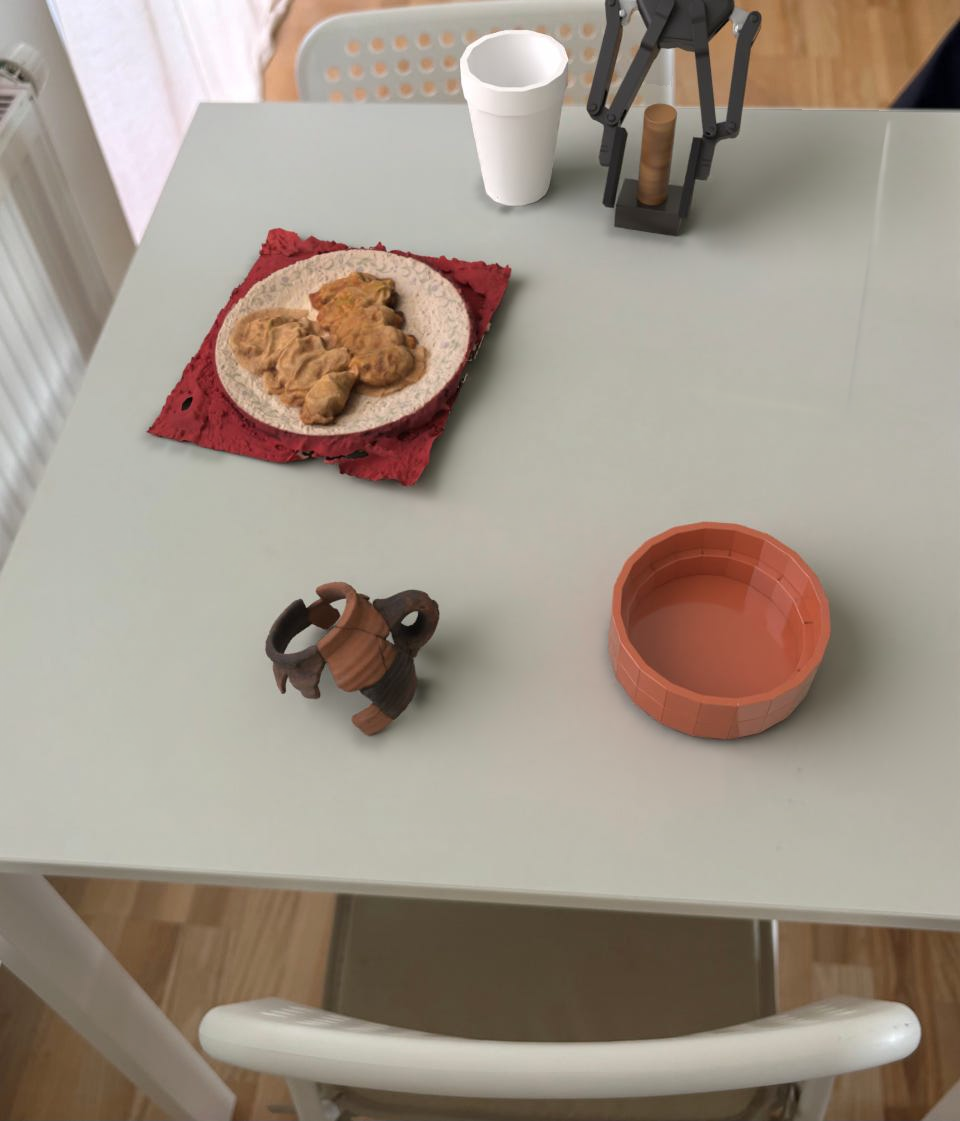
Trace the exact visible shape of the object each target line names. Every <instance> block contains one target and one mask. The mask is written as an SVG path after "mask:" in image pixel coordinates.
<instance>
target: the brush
mask: <svg viewBox="0 0 960 1121" xmlns="http://www.w3.org/2000/svg"><path fill="white" fill-rule="evenodd" d="M677 119H678V112H677V110H676V108H675V107H673V106H672V105H670V104H667V103H653V104H651V105H648V106H647V107H646V108H645V109H644V112H643V120H642V133H641V142H640V144H641V145H640V155H639V165H638V166H639V167H638V179H635V178H627V177H625V178H624V179H623V182H622V185H621V188H620V190H619V193H618V197H617V200H616V202H615V207H614V222H613V227H615V228H621V229H627V230H628V229H629V230H633V231H634V230H635V231H641V232H648V233H654V234H661V235H667V236H672V237H673V236H674V237H678V236H679V234H680V230H681V226H682V223H683V220H684V219H683V218H679V216H678V211H679V206H680V201H681V196H682V191H683V186H684V185H677V184H670V181H671V180H670V177H671V172H672V161H673V155H674V154H673V153H674V144H675V135H676V128H677Z"/></svg>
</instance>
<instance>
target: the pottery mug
mask: <svg viewBox="0 0 960 1121" xmlns="http://www.w3.org/2000/svg"><path fill="white" fill-rule="evenodd" d="M315 594H316V595H317V596H318V597H319V599H316V600H315V601H313V602H312V603H310V605H308V606H306V603H305V602H304V600H303V598H298V599H295V600H293V601H292V602H291V603H289V605H288V606H287V607H286V608H284V610H283V611H282V612H281V613H280V614H279V615H278V616H277V618H276V619H275V621H274V622H273V624H272V625H271V627H270V630H269V631H268V632H269V634H268V635H267V637H266V640H265V648H264V651H265V654H266V656H267V658H268V659H270V661H271V662H272V672H273V676H274V680H275V683H276V685H277V688H278V690H279V693H280V694H282V695H285V694H286V692H287V681H288V682H289V683H290V684H291V686H292V687H293V688H294V689H295V690H297V691H298V692H300V694H301V695H302V696H303V698H305V699H309V700H317V699H320V698H321V694H322V692H321V690H320V687H319V684H320V681H321V676H322V673H323V671H324V669H325V666H326V665H327V667H328V670H329V671H330V673H331V675H332V677H333V680H334V682H335V684H336V686H337V688H338V689H340V690H342V691H343V692H346V693H354V692H357V691H359V693H360V694H361V695H363V696H364V697H366V698H367V699H368V700H369V701H371V702H372V703H371V704H370V705H368V706H367V707H366V708H364V709H363V710H361V711H359V712H358V713H356V714H354V715H352V716H351V723H352V725H353V726H355V727H356V728H358V729H359V730H360V731H361V732H362V733H363V734H364V735H365V736H371V735H374V734H376V733H378V732H380V731H381V730H383V729H385V728H386V727H388V726H389V725H390V724H392V722H393V721H394V720H397V718H398V717H399V716H400V715H401V714H402V713H404V712H405V711H406V709H407V708H408V706H409V704H410V703H411V702H412V700H413V698H414V697H415V694H416V692H417V691H416V689H417V686H418V676H417V673H416V666H415V663H414V662H415V659H414V658H417V657H418V654H419V652H420V650H421V649H422V648H423V647H424V646H426V644H427V643H428V642H429V641H430V640H431V638H433V636H434V634H435V633H436V630H437V627H438V625H439V620H440V614H441V613H440V609H439V604H438V602H437V601H436V600H435V599H432V598H431V597H430V596H429V594H428V593H427V592H426V591H424V590H423V591H422V590H418V589H407V590H403V591H400V592H397V593H395V594H393V595H391V596H389V597H386V598H385V597H384V598H375V599H373V600H372V602H371V601H370V599H371V597H370V596H369V595H366V594H364V593H359V592H357V590H356V589H355V588H354V587H353V586H352V584H349V583H347V582H344V581H332V582H327V583H324V584H320V585H319V586H316V588H315ZM341 600H345V606H344V609H343V612H342V614H341V613H340V611H339V609H337V608H335V607H334V606H333V605H332V603H334V602H338V601H341ZM416 612H417V616H416V619H415V621H414V622H412V624H410V625H406V624H404V623H403V621H404V619H406V618H407V617H408V616H409V615H410V614H413V613H416ZM311 625H314V626H315V627H316V628H320V629H322V630H325V631H326V630H329V629H330V628H331V629H330V631H329V632H327V633H326V634H325V635H324V636H322V637H321V639H320V640H318V641H317V642H316V643H315V644H312V645H311V646H308V647H306V648H305V649H302V650H300V651H297V652H293V653H285V652H286V650H287V649H288V647H289V645H290V643H291V641H292V640H293V639H294V638H295V637H296V636H298V635H299V634H300V633H302V632H304V631H305V630H306V629H308V628H309V627H310V626H311ZM334 625H335V626H334ZM333 626H334V627H333ZM390 635H391V639H392V642H391V641H389V640H387V638H388V637H389V636H390Z"/></svg>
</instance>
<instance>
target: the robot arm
mask: <svg viewBox="0 0 960 1121" xmlns="http://www.w3.org/2000/svg"><path fill="white" fill-rule="evenodd" d="M735 4H736V3H735V0H604V9H605V20H606V21H605V22H606V25H605V28H604V33H603V36H602V41H601V45H600V49H599V54H598V58H597V61H596V66H595V69H594V74H593V77H592V82H591V87H590V89H589V90H590V91H589V94H588V99H587V103H586V113H587V114H588V115H589V117H590V119H592V120H593V121H596V122H598V123H600V124H601V125H603V131H602V136H601V142H600V146H599V147H600V148H599V153H598V160H599V161H598V162H599V165H600V166H601V167H605V168H608V170H607V175H606V181H605V186H604V192H603V197H602V202H601V203H602V205H604V207H605V208H610V209H615V207H616V201H617V200H616V199H617V195H618V188H619V183H620V178H621V174H622V169H623V168H622V167H623V163H624V162H623V161H624V157H625V150H626V146H627V140H628V136H629V132H627V129H626V127H624V126H622V125H623V123H624V121H625V119H626V117H627V115H628V113H629V111H630V110H631V107H632V105H633V103H634V101H635V99H636V97H637V95H638V93H639V91H640V89H641V88H642V85H643V83H644V81H645V79H646V77H647V75H648V73H649V72H650V69H651V68H652V66H653V64H654V62H655V61H656V59H657V58H658V56H659V55H660V53H661V50H662V49H664V50H670V49H680V50H683V51H685V52H689V53H690V52H691V53H694V59H695V60H694V61H695V68H696V79H697V88H698V100H699V108H700V118H701V127H702V128H701V129H702V135H701V137H697V136H692V142H691V146H690V151H689V156H688V161H687V167H686V171H685V176H684V182H683V185H682V186H683V191H682V196H681V201H680V206H679V211H678V216H679V218H683V220H689V215H690V211H691V204H692V201H693V196H694V191H695V185H696V180H697V181H704V182H706V181H707V180H708V179H709V177H710V175H711V170H712V164H713V159H714V156H715V149H716V146H717V145H718V143H719V142H722V141H723V140H729V139H731V140H733V139H736V138H737V137H738V136H739V135H740V131H741V123H742V119H743V118H742V116H743V108H744V102H745V95H746V88H747V80H748V73H749V66H750V60H751V53H752V52H751V51H752V48H753V46H754V44H755V41H756V40H757V38H758V36H759V33H760V31H761V29H762V20H763V18H762V14H761V13H760V12H759V10H752V11H750V12H749V11H747V10H745V9H742V8H740V7H738V6H736V5H735ZM636 11H638V13H639V15H640V17H641V19H642V23H643V24H644V26H645V28H646V31H645V33H644V35H643V37H642V39H641V41H640V43H639V44H640V45H639V47H638V49H637V51H636V54H635V55H634V57H633V59H632V61H631V64H630V65H629V68H628V70H627V71H626V73H625V75H624V78H623V79H622V81H621V84H620V85H619V88H618V89H617V92H616V93H615V95H614V97H613V99H612V101H611V104H610V106H609V108H608V107H606V104H607V100H608V96H609V92H610V90H611V84H612V80H613V77H614V72H615V68H616V64H617V60H618V56H619V52H620V47H621V44H622V39H623V32H624V27H626V26H627V25H629V24H630V23H631V20H632V16H633V14H634V13H635V12H636ZM729 21H730V22H731V23H732V25H733V27H732V36H733V37H734V38H735V39H736V44H735V49H734V50H735V51H734V57H733V67H732V72H731V80H730V88H729V94H728V103H727V110H726V116H725V117H726V118H725V121H721V122H717V116H716V106H715V105H716V104H715V97H714V96H715V95H714V86H713V76H712V75H713V74H712V67H711V66H712V65H711V56H710V55H711V54H710V45H709V43H710V41H712V40H713V39H714V37H715V36H716V35H718V33H719V32H720V31H721V30H722V29H723V28H724V27H725V26H726V25H727V23H729Z"/></svg>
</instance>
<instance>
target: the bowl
mask: <svg viewBox="0 0 960 1121" xmlns="http://www.w3.org/2000/svg"><path fill="white" fill-rule="evenodd" d="M611 599H612V600H611V610H610V618H609V631H608V632H609V633H608V645H607V649H608V655H609V658H610V662H611V665H612V668H613V671H614V675H615V677H616V680H617V681H618V682H619V684H620V686H621V687H622V689H623V690H624V691H625V693H626V694H627V695H628V697H629V699H631V701H632V702H633V703H634V705H636V706H637V707H639V709H641V710H642V711H644V712H645V713H647V714H648V715H649V717H652V718H653V719H654V720H655V721H657V722H658V723H659V724H661V725H664V726H666V727H669V728H672V729H673V730H676V731H678V732H681V733H684V734H686V735H689V736H692V737H700V738H708V739H718V740H719V739H720V740H732V739H737V738H743V737H746V736H751V735H758V734H760V733H762V732H764V731H766V730H768V729H769V728H771V727H773V726H775V725H776V724H778V723H780V722H782V721H783V720H786V719H787V718H788V717H789V716H790V715H791V714H792V713H793V712H794V711H795V709H797V707H798V706H799V705H800V703H801V702H802V701H803V700H804V699H805V698H806V696H807V695H808V692H809V691H810V688H811V685H812V683H813V682H814V679H815V677H816V675H817V672H818V670H819V668H820V665H821V663H822V661H823V658H824V655H825V652H826V648H827V646H828V643H829V640H830V637H831V634H832V628H831V627H832V625H831V609H830V602H829V600H828V597H827V595H826V592H825V590H824V588H823V586H822V584H821V581H820V579H819V576H818V575H817V574H816V572H814V570H813V569H812V568H811V567H810V566H809V565H808V563H807V562H805V560H804V559H803V558H802V557H801V556H800V554H799V553H798V552H796V550H794V549H792V548H790V547H789V546H788V545H786V544H785V543H783V542H782V541H780V540H778V539H777V538H775V537H774V536H773V535H770V534H769V533H766V532H763V531H761V530H757V529H754V528H751V527H748V526H746V525H742V524H739V523H733V522H732V523H730V522H720V521H719V522H718V521H717V522H716V521H698V522H694V523H688V524H683V525H678V526H677V525H676V526H674V527H671V528H669V529H667V530H665V531H663V532H660V533H659V534H657V535H655V536H652V537H651V538H648V539H647V540H645V541H644V542H643V543H642V544H641V545H640V546H639V547H638V548H637V549H636V550H635V551H634V552H633V553H632V554H631V555H630V556H629V557H627V559H626V560H625V562H624V563H623V565H622V568H621V570H620V572H619V574H618V576H617V579H616V581H615V583H614V585H613V590H612V598H611Z"/></svg>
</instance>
